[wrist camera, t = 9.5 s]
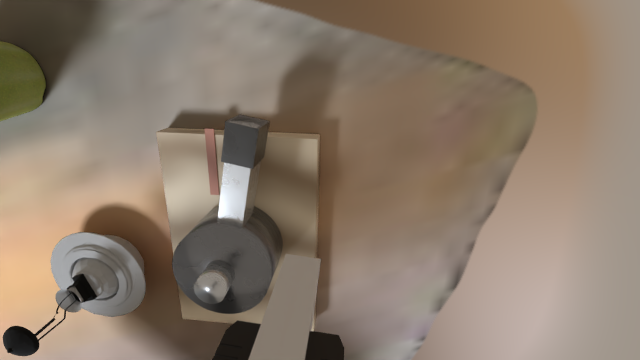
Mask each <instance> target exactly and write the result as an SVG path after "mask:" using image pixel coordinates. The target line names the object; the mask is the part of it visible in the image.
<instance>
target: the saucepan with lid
mask: <svg viewBox="0 0 640 360" xmlns="http://www.w3.org/2000/svg"><path fill="white" fill-rule="evenodd" d="M269 123H270V121H267V120H262V119H258V118H254V117H249V116H245V115H238V116H236V117H234V118H231V119H229V120H227V121H225V129H224V138H223V147H222V156H221V162H224V167H223V176H222V185H221V194H220V202H219V206H217V207H215V208H213V209H212V210H211V211H210V212H209V213H208V214H207V215H206V216H205V217H204V218H203V219H202V220H201V221H200V222H199V223H198V224H197V225H196V226H195V227H194V228H193V229H192V230H191V231H190V232H189V233H188V234H187V235H186V236H185V237H184V238H183V239H182V240H181V241H180V243H179V244H178V246H177V247H176V249H175V252H174V255H173V260H172V267H173V273H174V276H175V279H176V281H177V284H178V285H179V287H180V289H181V290H182V291H183V292H184V294H185V295H186V296H187V297H188V298H189V299H191V300H192V301H193V302H194V303H196V304H197V305H199V306H201V307H203V308H205V309H207V310H210V311H213V312H217V313H222V314H236V313H241V312H245V311H247V310H250V309H252V308H253V307H255V306H256V305H257V304H259V303H260V302H261V301H262V300H263V298H264V297H265V295H266V293H267V291H268V288H269V286H270V283H271V281H272V278H273V275H274V273H275V270H276V268H277V265H278V263H279V260H280V257H281V254H282V249H283V241H282V236H281V233H280V230H279V228H278V226H277V225H276V223H275V222H274V221H273V219H272V218H271V217H270V216H269V215H268V214H266V213H265V212H264V211H262V210H261V209H259V208H257V207H255V206H254V203H255V196H256V189H257V183H258V176H259V170H260V163H261V160H262V159H263V158H264V155H265V148H266V142H267V136H268V129H269Z"/></svg>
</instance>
